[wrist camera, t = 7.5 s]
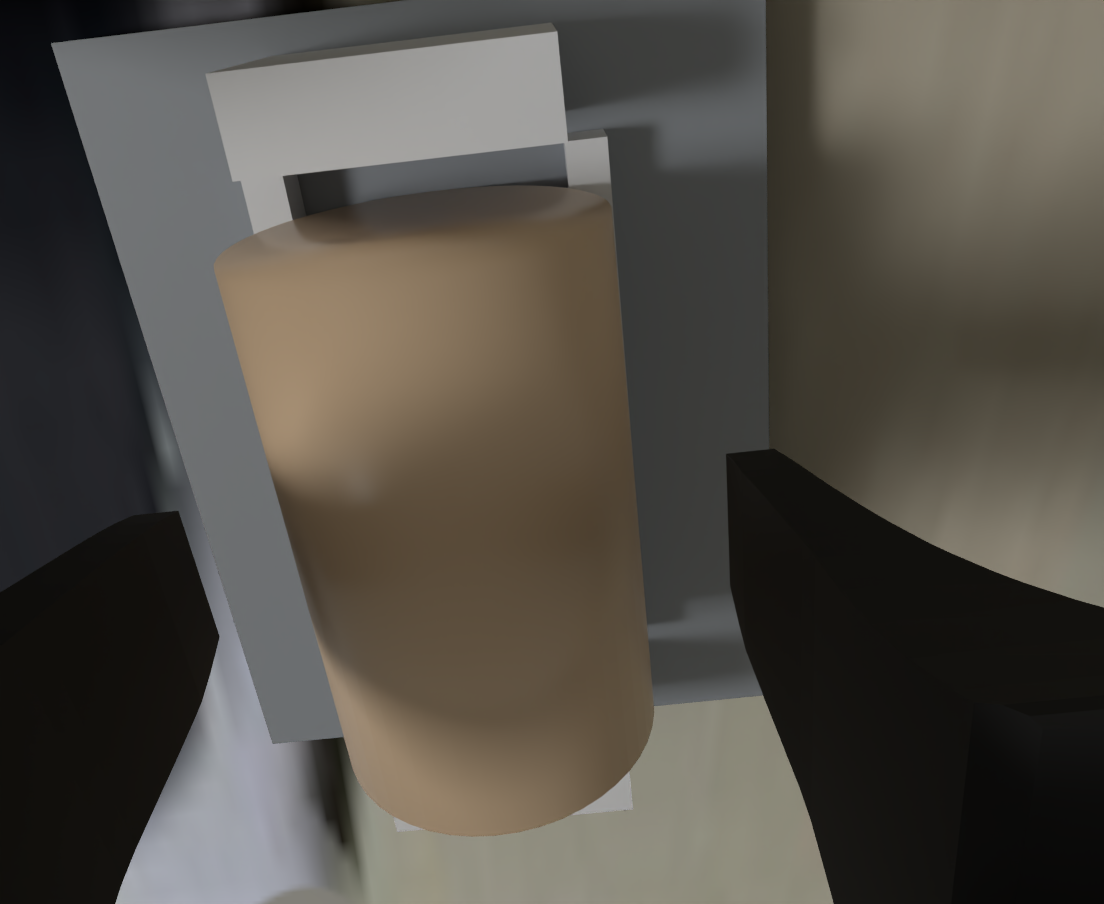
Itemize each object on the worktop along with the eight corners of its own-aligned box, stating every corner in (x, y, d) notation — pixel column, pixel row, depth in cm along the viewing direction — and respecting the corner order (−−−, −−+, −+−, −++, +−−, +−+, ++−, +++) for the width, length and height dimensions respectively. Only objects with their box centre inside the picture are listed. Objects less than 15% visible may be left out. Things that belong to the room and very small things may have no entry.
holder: (750, -42, 14) (827, -52, 10) (760, 661, 20) (811, 813, 16) (81, 39, 14) (-72, 57, 11) (284, 709, 20) (230, 869, 16)
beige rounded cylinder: (623, 173, 14) (595, 270, 9) (657, 617, 17) (649, 840, 13) (299, 203, 15) (134, 305, 10) (396, 622, 18) (304, 832, 14)
